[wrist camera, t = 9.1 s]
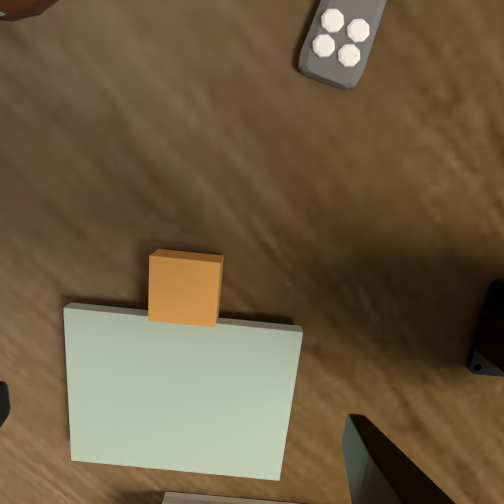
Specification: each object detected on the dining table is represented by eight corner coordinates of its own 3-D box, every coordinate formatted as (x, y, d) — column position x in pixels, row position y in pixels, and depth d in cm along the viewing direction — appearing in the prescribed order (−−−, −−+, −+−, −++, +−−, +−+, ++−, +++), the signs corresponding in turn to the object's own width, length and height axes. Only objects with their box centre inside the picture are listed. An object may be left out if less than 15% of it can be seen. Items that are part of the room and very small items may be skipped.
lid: (308, 261, 20) (314, 272, 17) (277, 457, 24) (279, 487, 21) (77, 237, 19) (54, 245, 17) (85, 438, 23) (67, 466, 21)
